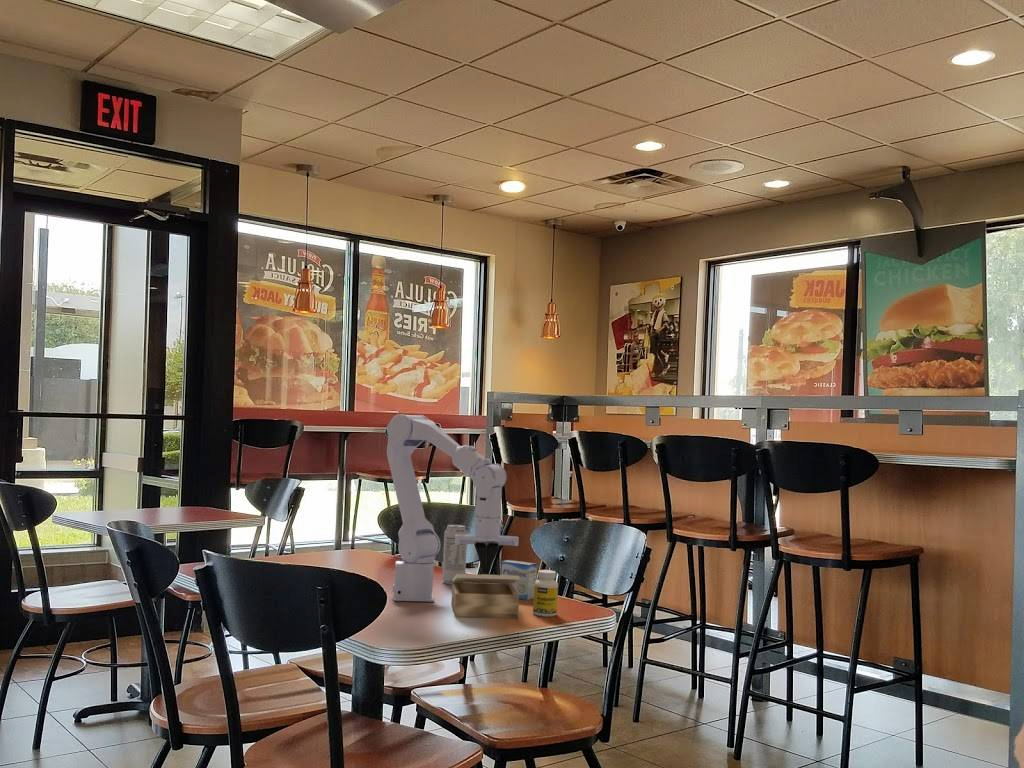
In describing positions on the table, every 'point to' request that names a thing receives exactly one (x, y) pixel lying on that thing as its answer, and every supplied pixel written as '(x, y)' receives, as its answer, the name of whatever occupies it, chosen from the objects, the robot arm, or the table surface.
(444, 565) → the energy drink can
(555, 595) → the supplement bottle
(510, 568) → the medicine box
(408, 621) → the table surface
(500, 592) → the crate
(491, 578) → the lid
